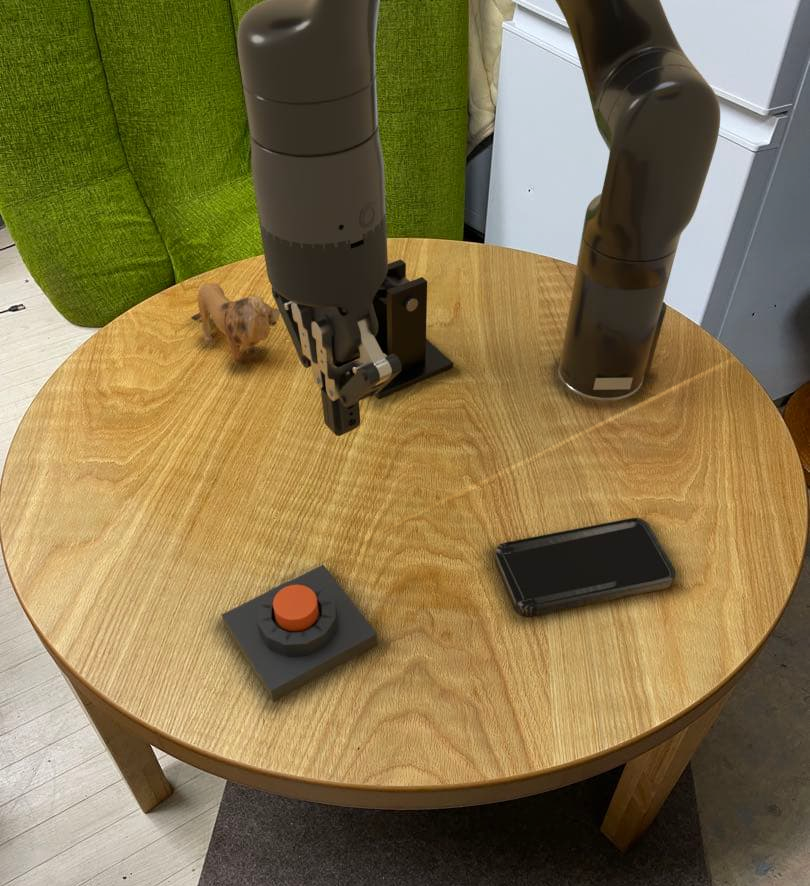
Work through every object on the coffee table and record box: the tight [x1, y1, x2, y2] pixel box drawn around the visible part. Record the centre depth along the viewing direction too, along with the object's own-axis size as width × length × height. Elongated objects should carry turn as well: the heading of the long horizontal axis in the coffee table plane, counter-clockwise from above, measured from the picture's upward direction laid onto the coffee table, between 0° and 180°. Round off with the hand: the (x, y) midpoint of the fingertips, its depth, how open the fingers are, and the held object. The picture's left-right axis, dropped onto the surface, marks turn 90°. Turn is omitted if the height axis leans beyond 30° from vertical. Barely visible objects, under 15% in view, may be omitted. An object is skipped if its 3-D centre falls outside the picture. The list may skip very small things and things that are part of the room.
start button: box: [273, 585, 319, 632], centre depth 71 cm, size 4×4×2 cm
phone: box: [494, 517, 677, 618], centre depth 79 cm, size 8×1×15 cm
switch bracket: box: [372, 259, 454, 400], centre depth 94 cm, size 10×8×12 cm
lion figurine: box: [190, 282, 281, 365], centre depth 97 cm, size 15×5×9 cm, turn 48°
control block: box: [221, 564, 378, 703], centre depth 73 cm, size 10×9×4 cm
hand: (343, 426), depth 64 cm, fingers closed
